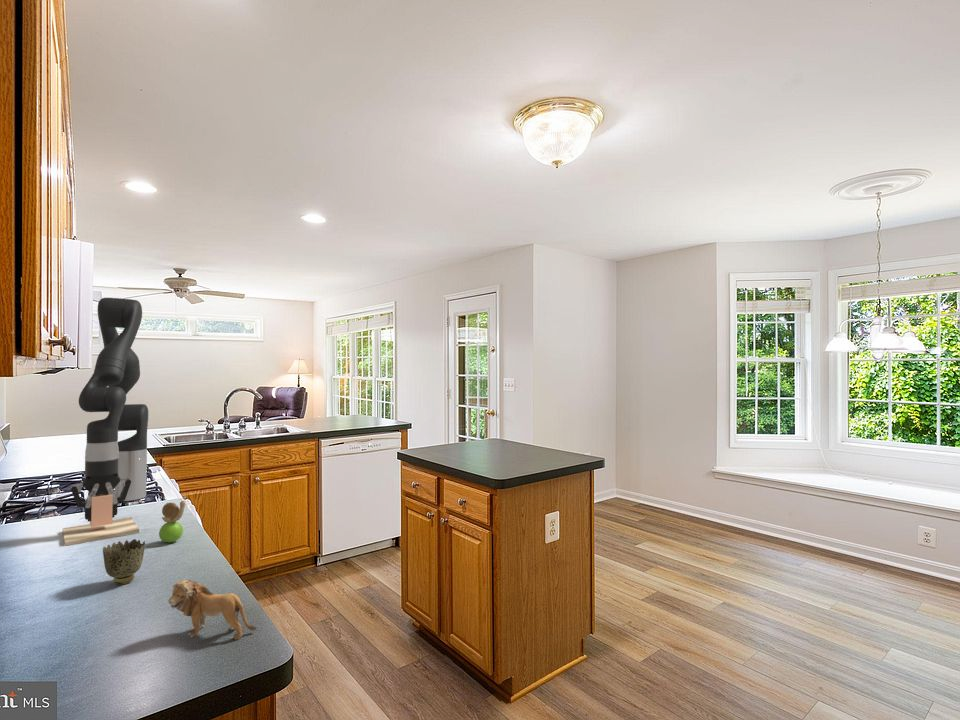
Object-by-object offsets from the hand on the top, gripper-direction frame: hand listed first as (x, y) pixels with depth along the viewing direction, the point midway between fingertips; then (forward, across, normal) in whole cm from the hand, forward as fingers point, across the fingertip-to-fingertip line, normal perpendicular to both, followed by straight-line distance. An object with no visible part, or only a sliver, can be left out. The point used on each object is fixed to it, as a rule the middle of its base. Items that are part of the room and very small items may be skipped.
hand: (101, 518), depth 140 cm
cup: (+4, 0, +44) cm, 45 cm away
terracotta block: (+1, 0, 0) cm, 1 cm away
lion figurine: (+4, -9, +80) cm, 80 cm away
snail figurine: (+4, -14, +22) cm, 27 cm away
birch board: (+4, 0, 0) cm, 4 cm away
